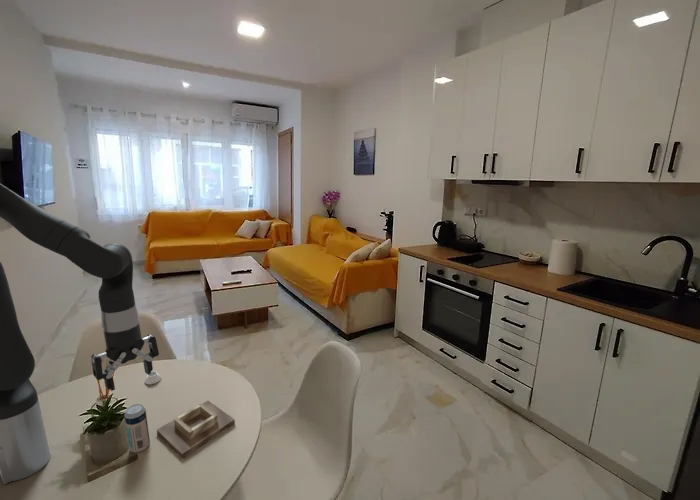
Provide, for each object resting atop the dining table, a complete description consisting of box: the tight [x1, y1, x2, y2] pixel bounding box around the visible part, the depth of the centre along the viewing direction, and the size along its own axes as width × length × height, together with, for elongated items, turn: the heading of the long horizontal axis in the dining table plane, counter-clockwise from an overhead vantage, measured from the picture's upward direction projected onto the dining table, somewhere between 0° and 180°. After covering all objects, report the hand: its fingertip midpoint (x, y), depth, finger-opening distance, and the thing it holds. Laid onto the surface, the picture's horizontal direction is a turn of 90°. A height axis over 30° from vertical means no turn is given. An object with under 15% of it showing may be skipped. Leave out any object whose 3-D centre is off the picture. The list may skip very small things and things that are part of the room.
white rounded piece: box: [144, 370, 162, 385], centre depth 121 cm, size 5×3×5 cm
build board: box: [156, 400, 236, 459], centre depth 99 cm, size 16×14×4 cm
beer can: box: [123, 403, 151, 453], centre depth 91 cm, size 5×5×12 cm
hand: (130, 380), depth 88 cm, fingers open, 8 cm apart
